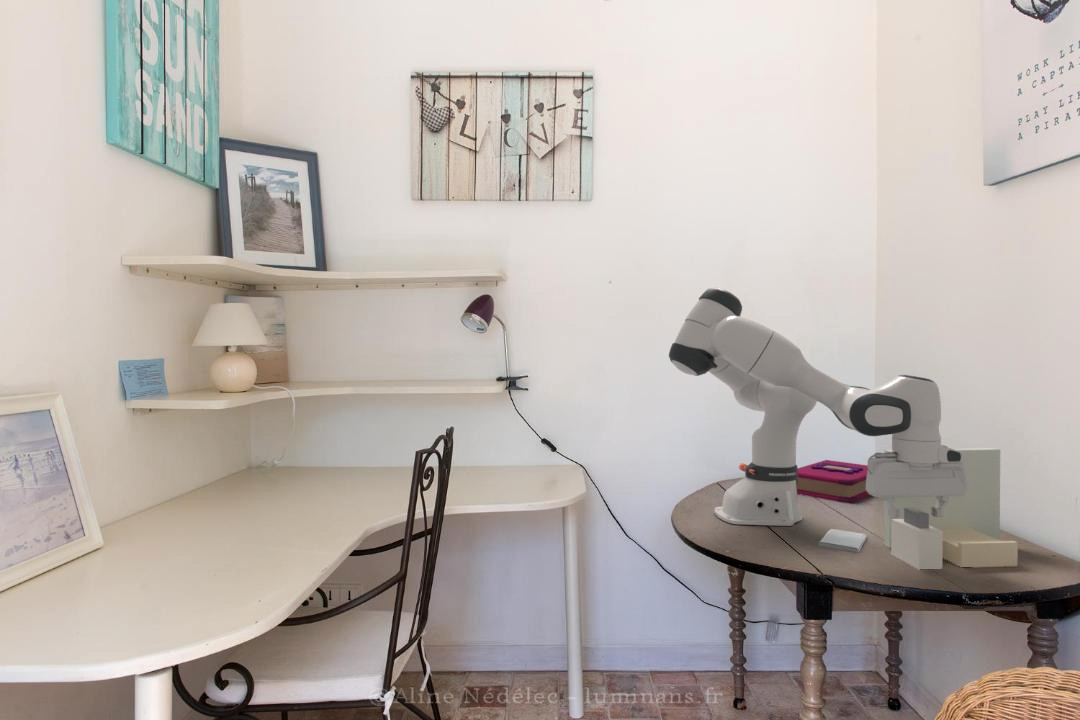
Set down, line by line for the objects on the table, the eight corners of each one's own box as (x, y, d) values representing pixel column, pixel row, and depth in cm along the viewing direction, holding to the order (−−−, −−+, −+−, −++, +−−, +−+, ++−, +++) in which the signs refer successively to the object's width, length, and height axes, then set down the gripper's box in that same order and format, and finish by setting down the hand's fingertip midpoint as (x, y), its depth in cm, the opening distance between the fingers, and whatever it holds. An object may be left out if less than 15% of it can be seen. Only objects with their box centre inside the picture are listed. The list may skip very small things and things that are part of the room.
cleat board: (928, 568, 126) (929, 462, 125) (884, 545, 141) (884, 449, 140) (1049, 565, 127) (1050, 460, 127) (992, 542, 142) (993, 447, 141)
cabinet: (918, 570, 125) (919, 517, 125) (891, 555, 134) (891, 505, 134) (942, 569, 125) (942, 516, 125) (913, 554, 134) (913, 505, 134)
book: (782, 492, 193) (782, 468, 193) (821, 479, 211) (822, 457, 211) (851, 505, 177) (851, 479, 177) (887, 489, 195) (887, 466, 195)
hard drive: (858, 548, 136) (866, 533, 146) (818, 541, 141) (829, 527, 151) (858, 555, 136) (866, 540, 146) (818, 548, 141) (829, 534, 151)
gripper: (877, 455, 125) (876, 522, 126) (973, 453, 126) (972, 520, 127) (859, 450, 132) (859, 513, 132) (951, 448, 133) (950, 511, 133)
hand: (915, 516), depth 129 cm, fingers open, 8 cm apart
